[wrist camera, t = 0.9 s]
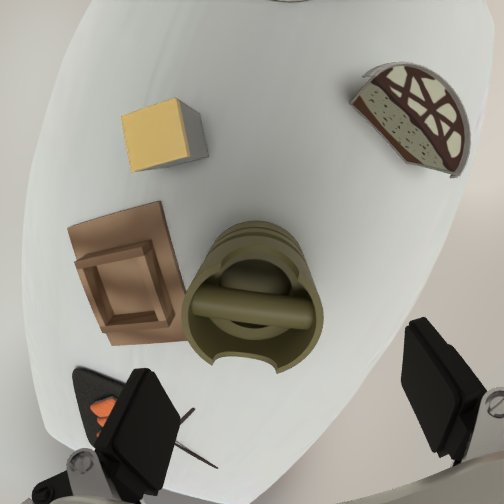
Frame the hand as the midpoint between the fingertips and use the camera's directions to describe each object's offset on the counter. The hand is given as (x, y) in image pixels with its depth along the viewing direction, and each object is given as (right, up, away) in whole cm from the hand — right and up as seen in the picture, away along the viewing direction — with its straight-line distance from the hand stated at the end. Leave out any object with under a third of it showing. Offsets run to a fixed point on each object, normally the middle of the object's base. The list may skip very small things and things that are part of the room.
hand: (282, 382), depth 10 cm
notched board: (-16, +1, +26) cm, 30 cm away
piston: (-1, +3, +24) cm, 25 cm away
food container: (+15, +20, +18) cm, 31 cm away
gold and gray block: (-9, +17, +20) cm, 28 cm away
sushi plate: (-21, -31, +37) cm, 52 cm away
